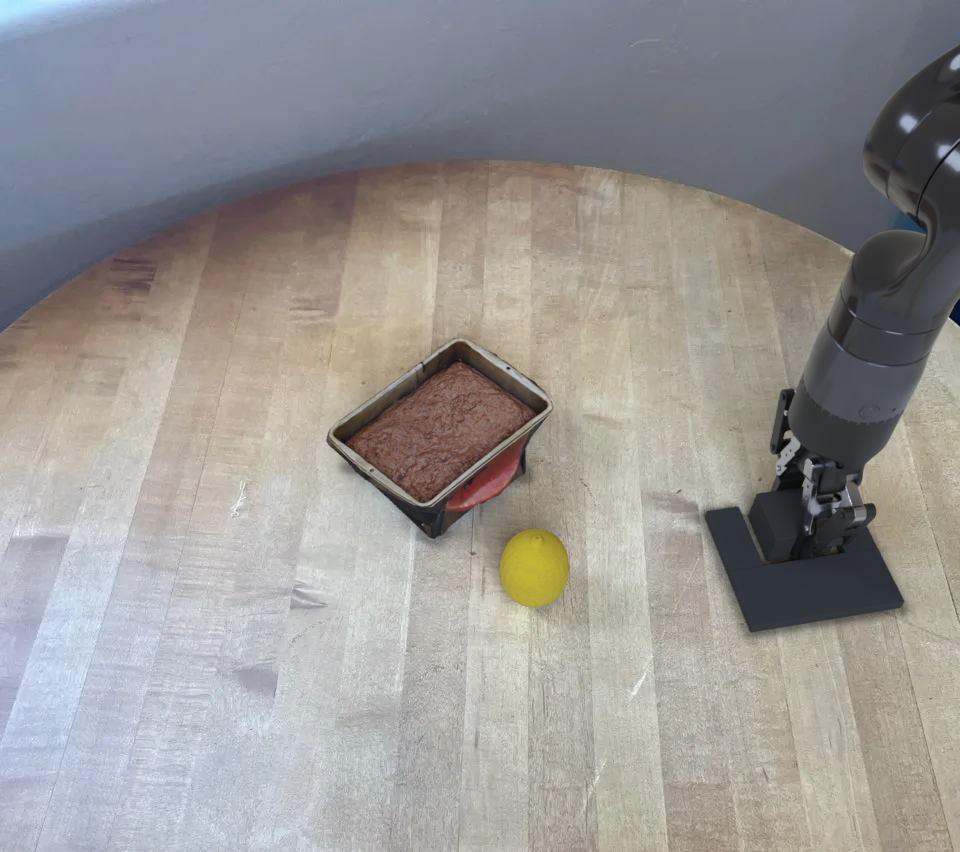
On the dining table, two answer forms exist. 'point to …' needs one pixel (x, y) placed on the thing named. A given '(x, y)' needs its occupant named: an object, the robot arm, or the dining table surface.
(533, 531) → the lemon
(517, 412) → the baking dish
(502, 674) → the dining table surface
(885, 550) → the dining table surface
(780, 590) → the charcoal pad
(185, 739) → the dining table surface
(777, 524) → the black block
